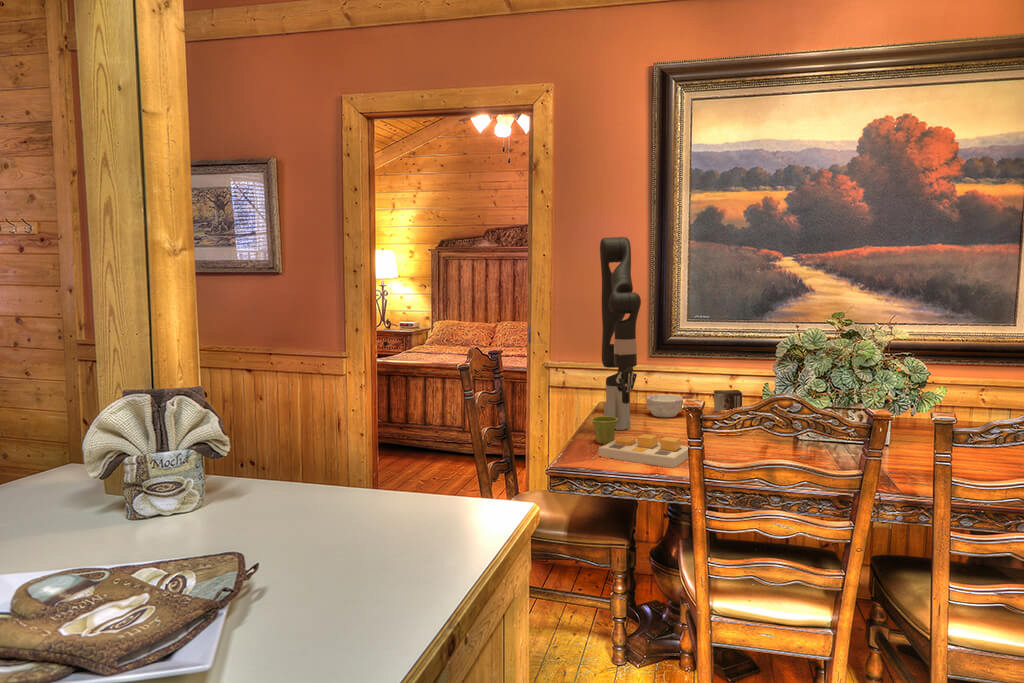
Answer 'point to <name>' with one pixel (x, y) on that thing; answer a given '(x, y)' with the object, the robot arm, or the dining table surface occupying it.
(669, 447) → the button right
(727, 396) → the coffee box
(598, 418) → the plant pot
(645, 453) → the button board
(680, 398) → the light grey bowl
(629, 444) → the button left
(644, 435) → the button middle
